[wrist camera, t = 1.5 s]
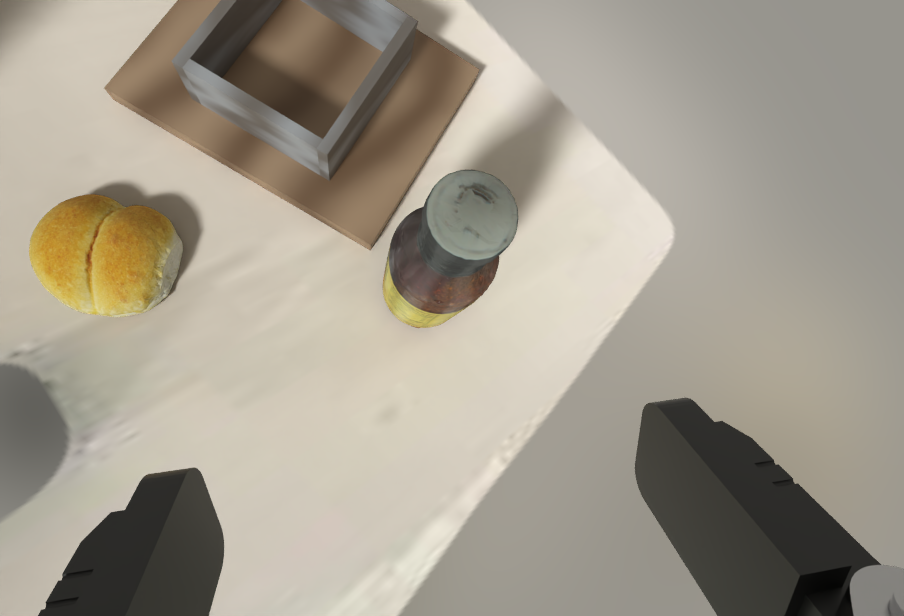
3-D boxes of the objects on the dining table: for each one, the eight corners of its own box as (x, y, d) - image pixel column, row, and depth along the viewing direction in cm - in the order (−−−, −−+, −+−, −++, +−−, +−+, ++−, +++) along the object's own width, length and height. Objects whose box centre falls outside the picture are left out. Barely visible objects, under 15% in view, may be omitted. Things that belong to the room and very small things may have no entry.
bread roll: (67, 191, 37) (34, 168, 33) (196, 224, 38) (179, 205, 34) (25, 300, 35) (-15, 289, 31) (161, 330, 37) (139, 323, 33)
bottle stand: (113, 99, 38) (71, 47, 32) (249, -65, 42) (233, -137, 37) (370, 250, 40) (374, 226, 34) (475, 80, 44) (494, 33, 39)
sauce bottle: (432, 240, 41) (505, 110, 22) (473, 305, 41) (582, 231, 22) (362, 280, 40) (375, 178, 21) (404, 348, 40) (458, 309, 20)
